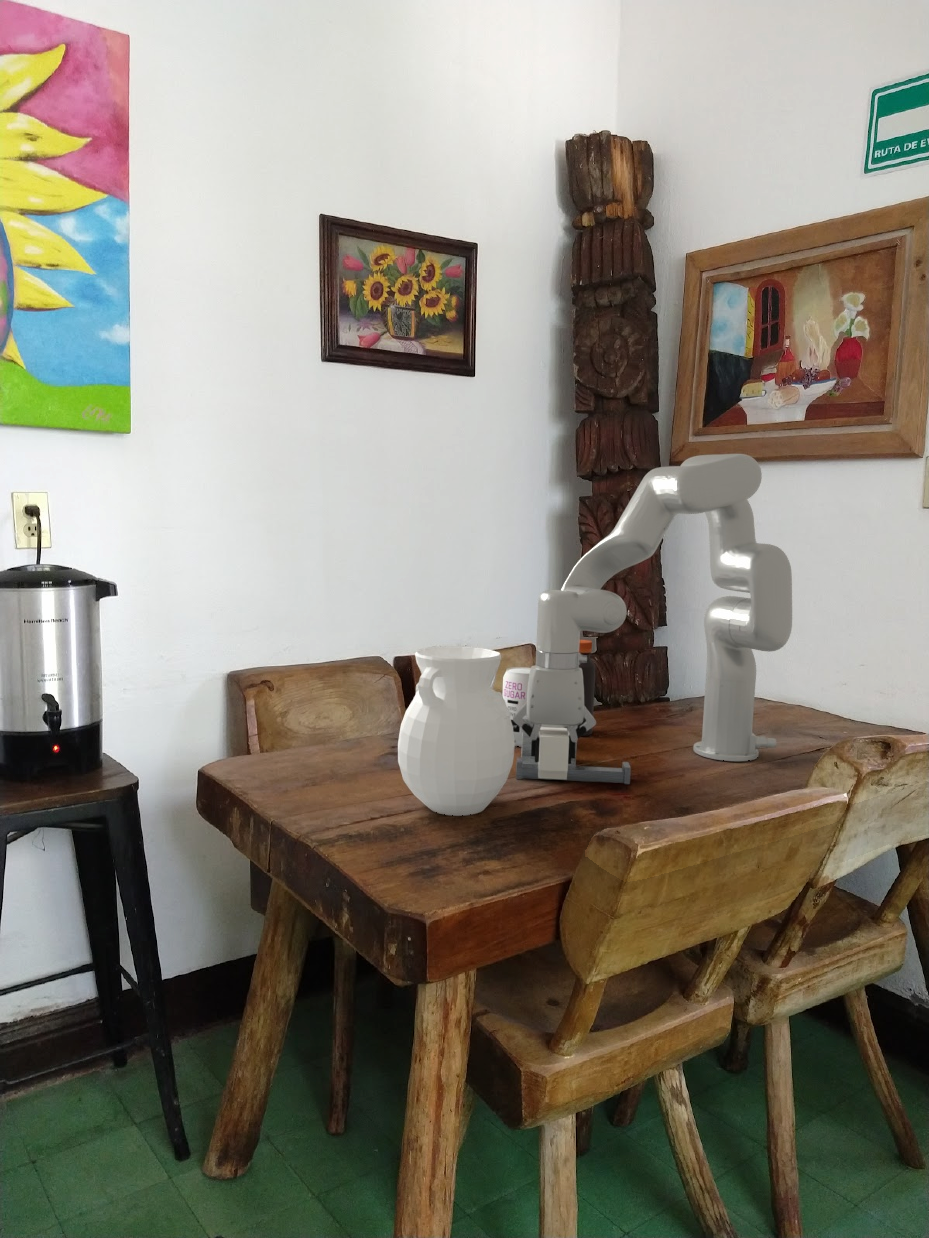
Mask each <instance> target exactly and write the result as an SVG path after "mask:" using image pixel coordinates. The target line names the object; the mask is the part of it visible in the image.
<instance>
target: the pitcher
mask: <svg viewBox="0 0 929 1238" xmlns="http://www.w3.org/2000/svg"><path fill="white" fill-rule="evenodd" d="M414 656H415V661H416V665H417V666H418V668H419V671H420V674H421V675H420V677H419V680H418V682H417V684H416V686H415V695H414V696H413V699H412V700H411V702H410V704H409V706H408V707H407V708H406V710H405V713H404V716H403V719H402V721H401V723H400V729H399V735H398V741H397V763H398V765H399V770H400V773H401V775H402V780H403V782H404V783H405V785H406V786H407V787H408V789H409V790H410V791H411V793H412V794H413V795H414V796H415V797H416V798H417V799H418V800H419V801H420V802H422V804H424V805H425V806H426V807H427V808H428V809H429V810H431V811H432V812H434V813H436V812H437V814H440V815H444V814H445V815H446V816H452V815H453V816H455V817H460V816H462V815H463V816H471V815H476V814H478V813H481V812H483V811H484V810H485V809H486V808H487V807H488V806H489V805H490V804H491V802H492V801H494V799H495V798H496V797H498V794H499V793H500V791H501V789H502V788H503V787H504V785H505V784H506V782H507V780H508V778H509V774H510V772H511V770H512V767H513V764H514V757H515V756H514V755H515V747H516V746H515V743H514V733H513V726H512V722H511V719H510V716H511V715H510V710H509V709H508V707H507V706H506V703H505V700H504V699H503V693H502V692H501V691H496V690H495V689H494V685H495V683H496V680H497V672H498V670H499V667H500V664H501V661H502V655H501V652H499V651H495V650H493V649H489V648H484V647H474V646H466V645H465V646H463V645H462V646H461V645H455V646H454V645H449V646H448V645H447V646H446V645H443V646H442V645H439V646H437V645H436V646H428V647H423V648H420V649H417V650H416V652H414ZM470 814H471V815H470ZM445 815H444V816H445Z"/></svg>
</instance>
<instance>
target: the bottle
mask: <svg viewBox="0 0 929 1238" xmlns="http://www.w3.org/2000/svg"><path fill="white" fill-rule="evenodd" d="M579 653H580V654H583V655H587V663H580V665H579V668H582V673H583V684H584V706H585V707H586V708H587V710H588V711H589V712H590V714H591V715H592V716H593V717H594V706H595V704H594V701H595V684H596V664H595V663H594V662H593V660H592V659H591V655H592V653H593V641H592V640H589V639H580V642H579ZM585 722H586V719H585V718H583V722H582V723H581V724H579V725H578V726H577V728H578V727H579V726H580V725H582V724H584V723H585ZM592 734H593V727H592V728H591V729H589V730H588V731H586V733H584V734H583V735H582V736H581V737H588V736H590V735H592Z"/></svg>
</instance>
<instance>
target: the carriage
mask: <svg viewBox="0 0 929 1238" xmlns="http://www.w3.org/2000/svg"><path fill="white" fill-rule="evenodd" d="M539 740H540V745H539V762H538V766H539V770H538V778H542V779H541V780H547V779H564V780H563V781H568V780H567V771H568V752H569V735H568V731H567V728H548V727H541V728H540V731H539Z"/></svg>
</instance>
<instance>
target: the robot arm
mask: <svg viewBox="0 0 929 1238" xmlns="http://www.w3.org/2000/svg"><path fill="white" fill-rule="evenodd" d="M762 473H763V472H762V469H761V465H760V464H759V463H758V461H757V460H756V459H755V458H753V457H752V456H751V455H748V454H746V453H745V454H744V453H723V454H702V455H696V456H695V455H694V456H690V457H689V458H687V459H685V460H684V461H683V462H682V463H681V464H680V466H679V465H677V466H676V465H674V466H672V465H671V466H660V467H656V468H653V469H651V470H650V471H648V472H647V473H646V474H645V475H644V477H643V478H642V480H641V481H640V483H639V484H638V486H637V488H636V490H635V491H634V493H633V495H632V497H631V498H630V499H629V502H628V504H627V506H625V509H624V510H623V512H622V514H621V516H620V518H619V520H618V521H617V523H616V524H615V527H614V528H613V529H612V530H611V532H609V534H608V535H607V536H605V537H603V538H602V539H601V540H600V541H599V542H598V543H596V544H595V545H594V546H593V547H592V548H591V549H590V550H589V551H587V552H586V553H585V554H584V555H583V556H582V557H581V558H580V559H579V560H578V561H577V563H576V564H575V565H574V566H573V568H572V570H571V571H570V573H569V575H568V576H567V578H566V579H565V581H564V583H563V585H562V587H561V588H560V589H549V590H544V591H542V592H541V593H540V594H539V595H538V599H537V600H538V602H537V625H536V645H535V646H536V647H535V648H536V649H535V650H536V651H535V665H532V666H530V668H531V670H530V674H529V680H528V688H527V699H526V703H525V704H524V705H523V707H522V708H521V709H520V710H519V711H518V712H517V713H516V714H515V715H514V717H513V721H514V722H515V723H516V724H517V725H518V726H519V727H521V728H522V729H523V730H524V731H525V732H526V733H527V735H528V736H529V737H530V738H531V739H532V743H531V756H535V762H539V745H540V740H539V735H538V734H539V731H540V728H541V725H542V724H543V725H565V726H568V730H569V734H570V735H569V752H568V764H571V758H575V747H576V741H577V742H578V740H579V739H580V738H581V737H583V736H582V735H583V734H584V733H586V731H588V730H589V729H591V728H592V729H593V727H595V726H596V725H597V721H596V719H595V718H594V715H593V716H592V715H591V714H590V712H589V711H588V710H587V708H586V707H585V706H584V684H583V673H582V668H579V665H580V663H587V655H583V654H580V653H579V642H580V640H581V639H580V638H581V634H580V633H581V632H584V631H585V632H592V633H601V634H602V633H603V634H604V633H611V632H614V631H615V630H617V629H619V628H621V626H622V625H623V624H624V622H625V620H626V619H627V618H626V617H627V605H626V602H625V601H624V600H623V599H622V597H621V596H619V594H617V593H615V592H612V591H609V590H606V589H602V587H604V585H605V584H606V583H608V582H607V581H609V580H610V579H611V578H612V577H613V576H615V575H616V574H618V573H619V572H621V571H623V570H624V569H627V568H630V567H633V566H635V565H638V564H639V563H642V562H643V561H645V560H647V559H650V558H651V557H652V556H653V555H654V554H655V552H656V550H657V549H658V547H659V545H660V543H661V542H662V540H663V538H664V537H665V534H666V533H667V531H668V529H669V527H670V526H671V524H672V522H673V520H674V519H675V517H676V515H678V514H681V515H683V514H684V515H685V514H686V515H694V514H695V515H696V514H697V515H698V514H703V513H704V514H705V516H706V518H707V523H708V532H709V533H708V535H709V536H708V539H709V566H710V567H709V568H710V576H711V579H712V581H713V583H714V584H715V585H716V586H717V587H719V588H720V589H724V590H729V591H732V592H733V591H734V592H741V593H747V594H748V593H749V595H750V598H749V597H744V596H734V595H733V596H731V595H728V596H721V597H719V598H717V599H715V600H713V601H712V602H711V603H710V604H709V605H708V606H707V609H706V610H705V612H704V613H705V614H704V617H703V618H704V619H703V624H704V625H703V626H704V628H703V629H704V633H705V634H704V635H705V643H706V670H705V671H706V674H705V683H704V684H705V685H704V687H705V688H704V698H703V699H704V701H703V716H702V717H703V718H702V731H701V732H702V734H701V740H700V741H697V742H695V743H694V744H693V752H694V753H695V754H697V755H699V756H701V757H704V758H707V759H712V760H718V761H723V760H724V761H723V762H749V761H748V760H750V761H755V760H756V759H758V758H757V757H759V755H760V753H759V749H760V748H766V749H776V748H777V739H776V737H775V738H773V737H772V738H771V737H770V738H769V737H767V736H763V735H762V736H757V735H756V734H755V733H754V732H753V724H754V723H753V722H754V711H755V710H754V709H755V708H754V707H755V694H756V680H757V679H756V678H757V663H756V659H755V656H754V652H753V650H755V651H761V652H767V653H768V652H776V651H778V650H780V649H782V648H783V647H784V646H786V644H787V642H788V641H789V640H790V637H791V634H792V628H793V578H792V576H793V575H792V566H791V563H790V559H789V557H788V555H787V554H786V552H784V550H782V548H780V547H779V546H777V545H774V544H771V543H770V544H769V543H759V542H758V543H757V540H756V531H755V530H756V529H755V517H754V513H753V512H754V511H753V509H752V506H751V504H750V502H749V500H748V499H751V498H752V497H753V496H754V495H755V494H756V493H757V491H758V490H759V488H760V486H761V483H762V478H763V476H762ZM525 715H527V720H528V721H529V722H531V723H533V726H532V727H531V726H530V725H529V724H528V723H527V722H525V721H524V720H523V717H524V716H525ZM583 718H585V719H586V722H585V723H584V724H582V725H580V726H579V727H578V728H577V729H575V725H579V724H581V723H582V722H583ZM576 748H577V747H576Z"/></svg>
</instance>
